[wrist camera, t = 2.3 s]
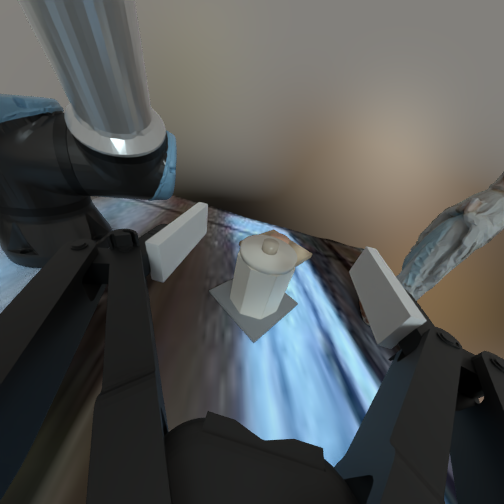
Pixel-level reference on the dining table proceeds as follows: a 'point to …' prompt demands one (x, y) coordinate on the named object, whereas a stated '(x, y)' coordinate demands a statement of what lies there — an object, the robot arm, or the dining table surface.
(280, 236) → the peach rounded dome
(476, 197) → the statue
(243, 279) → the white lidded jar
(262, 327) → the mat
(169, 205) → the dining table surface
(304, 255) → the board
